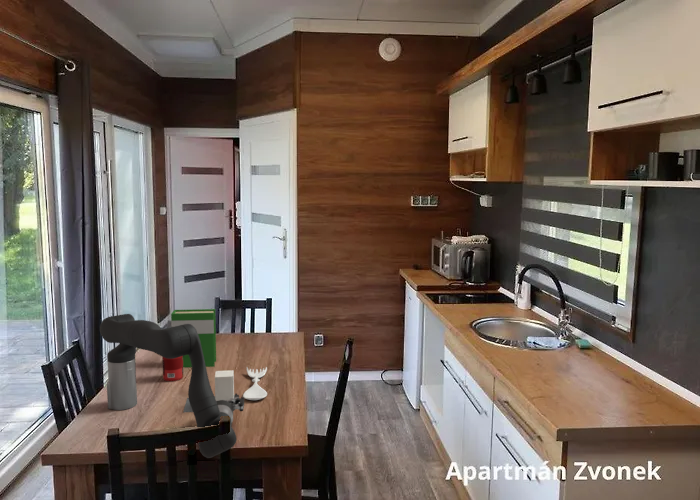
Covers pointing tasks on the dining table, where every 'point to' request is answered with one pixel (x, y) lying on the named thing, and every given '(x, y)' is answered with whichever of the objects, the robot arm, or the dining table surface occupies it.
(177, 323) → the hardback book
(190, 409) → the mat
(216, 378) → the white rectangular block
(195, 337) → the robot arm
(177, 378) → the canned food
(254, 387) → the white piece
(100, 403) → the dining table surface
